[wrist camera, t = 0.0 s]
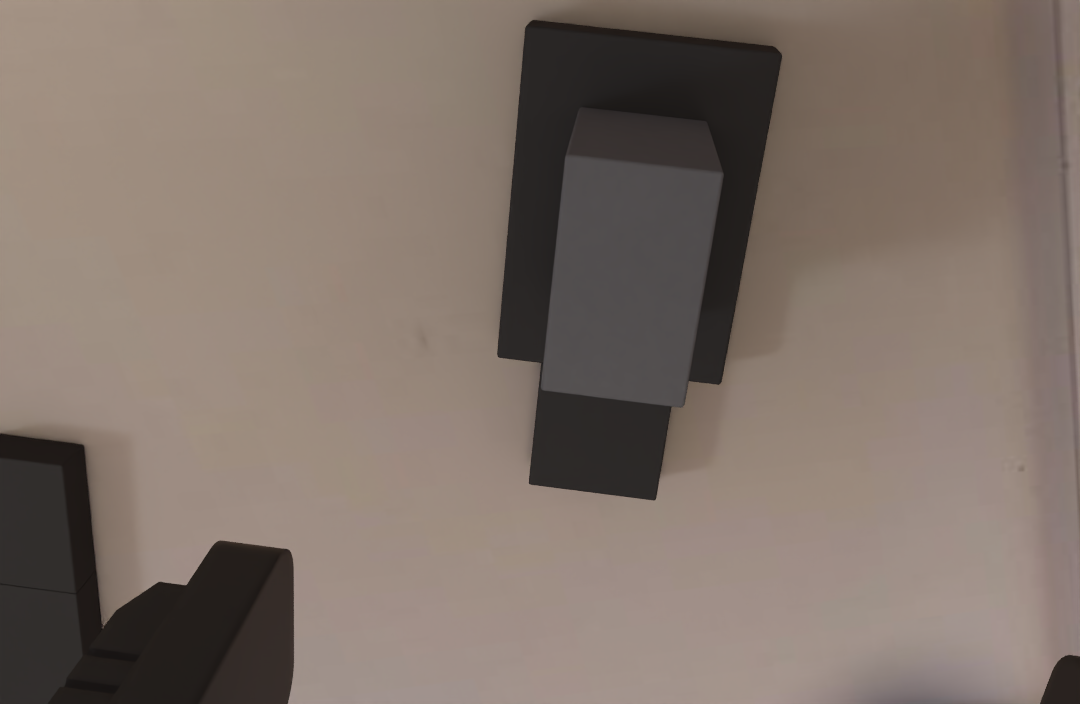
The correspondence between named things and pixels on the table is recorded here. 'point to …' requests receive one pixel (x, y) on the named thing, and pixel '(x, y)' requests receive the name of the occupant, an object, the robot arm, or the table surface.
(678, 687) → the table surface
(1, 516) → the notch pad
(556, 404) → the pad
